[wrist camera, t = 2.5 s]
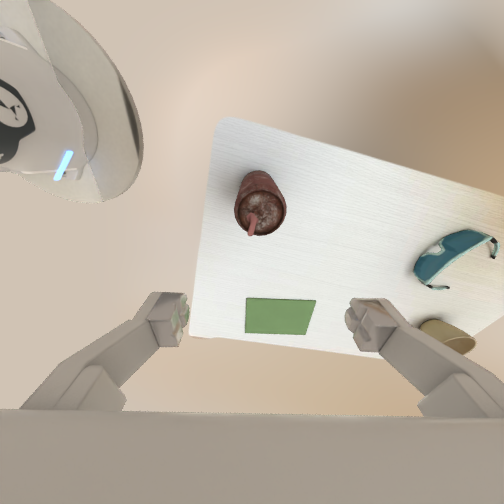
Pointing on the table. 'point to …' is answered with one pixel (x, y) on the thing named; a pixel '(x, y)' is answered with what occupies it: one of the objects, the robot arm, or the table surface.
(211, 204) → the table surface
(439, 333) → the flower pot
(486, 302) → the table surface
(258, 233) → the can
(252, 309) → the felt cloth
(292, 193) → the table surface
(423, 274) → the sunglasses
